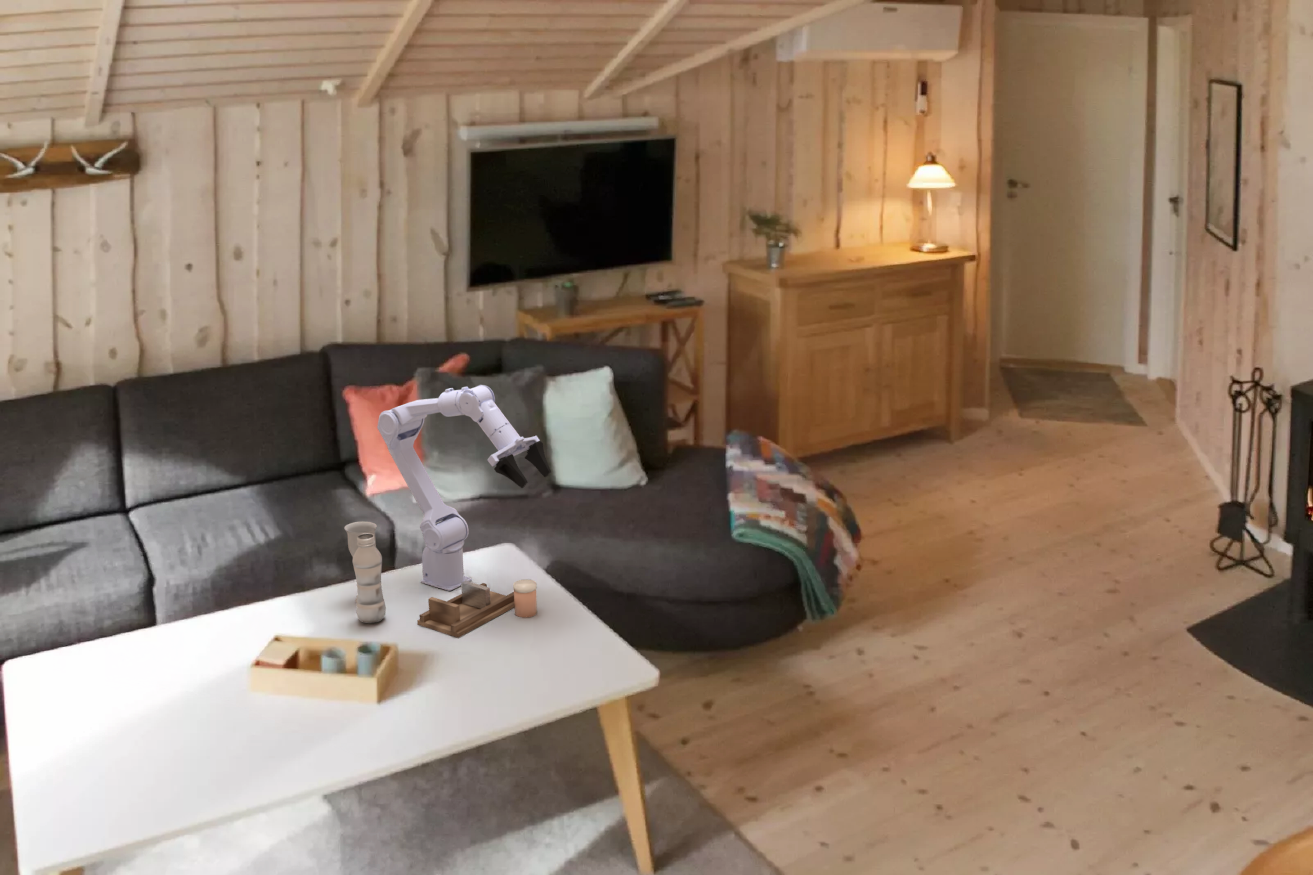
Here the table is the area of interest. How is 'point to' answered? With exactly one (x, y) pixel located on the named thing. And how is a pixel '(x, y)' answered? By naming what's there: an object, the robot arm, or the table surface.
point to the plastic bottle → (368, 580)
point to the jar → (525, 598)
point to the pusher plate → (475, 594)
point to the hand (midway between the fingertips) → (536, 480)
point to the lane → (463, 613)
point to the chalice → (355, 531)
